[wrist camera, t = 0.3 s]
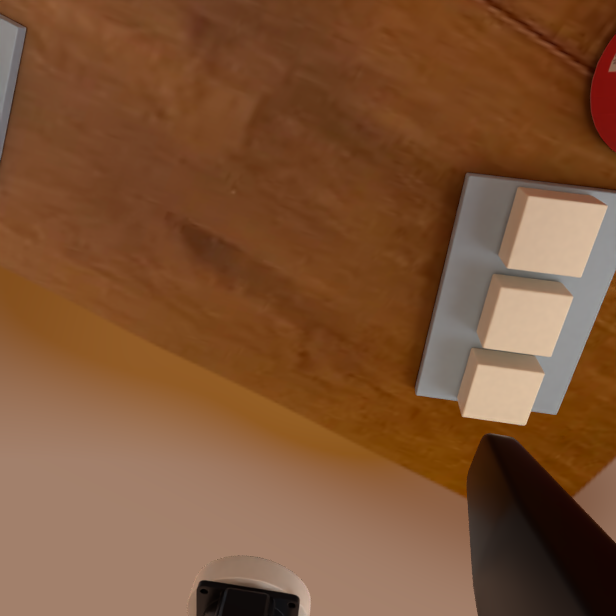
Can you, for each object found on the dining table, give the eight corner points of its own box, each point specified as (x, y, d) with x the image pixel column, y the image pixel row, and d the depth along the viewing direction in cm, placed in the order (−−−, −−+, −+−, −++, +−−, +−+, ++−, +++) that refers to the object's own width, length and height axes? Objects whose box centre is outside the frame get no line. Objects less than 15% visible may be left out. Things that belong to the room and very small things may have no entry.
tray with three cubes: (553, 408, 26) (567, 435, 24) (414, 388, 26) (418, 414, 24) (638, 192, 21) (666, 206, 19) (466, 172, 21) (476, 183, 19)
